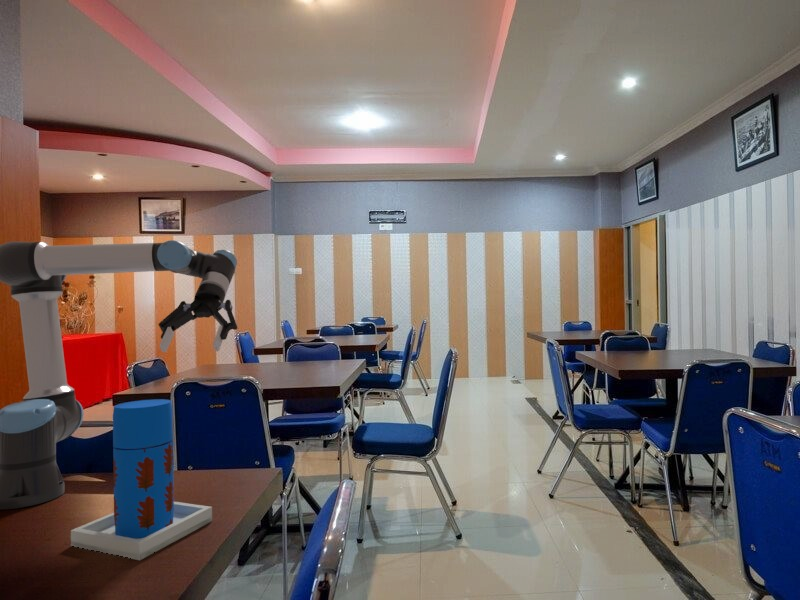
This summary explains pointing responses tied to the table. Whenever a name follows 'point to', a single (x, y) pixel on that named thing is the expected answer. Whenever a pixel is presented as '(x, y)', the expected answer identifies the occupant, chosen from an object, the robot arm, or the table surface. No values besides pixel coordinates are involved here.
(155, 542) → the tray
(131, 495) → the thermos
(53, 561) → the table surface
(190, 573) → the table surface
